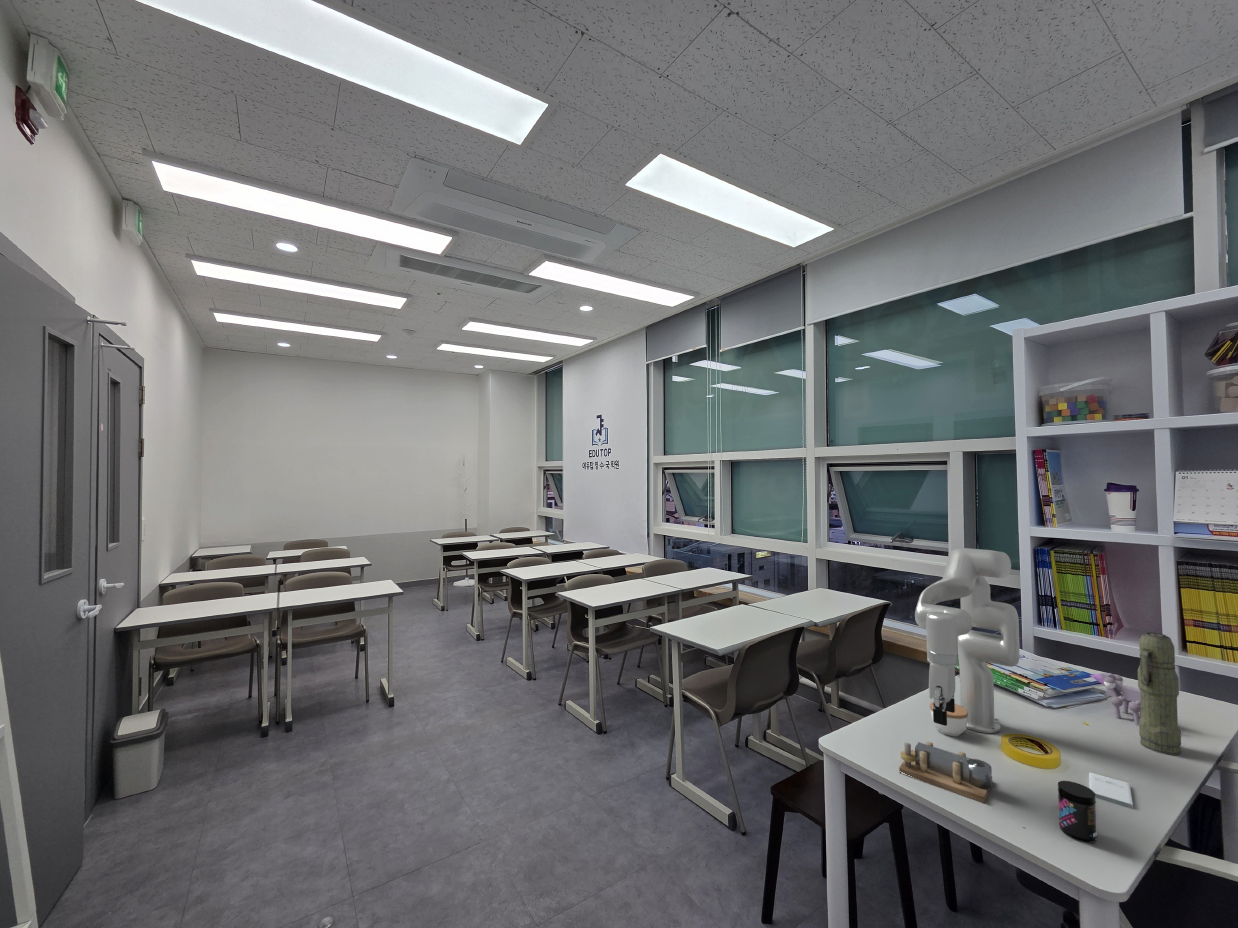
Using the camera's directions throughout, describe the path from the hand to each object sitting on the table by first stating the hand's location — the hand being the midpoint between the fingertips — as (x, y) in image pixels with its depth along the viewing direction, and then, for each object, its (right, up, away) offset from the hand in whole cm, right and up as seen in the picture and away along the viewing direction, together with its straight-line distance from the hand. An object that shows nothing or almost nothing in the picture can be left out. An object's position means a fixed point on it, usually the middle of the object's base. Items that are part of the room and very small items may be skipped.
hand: (944, 717), depth 145 cm
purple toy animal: (+86, -17, +35) cm, 94 cm away
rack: (0, -17, -1) cm, 17 cm away
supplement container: (+16, -16, -24) cm, 33 cm away
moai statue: (+76, -17, +14) cm, 80 cm away
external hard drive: (+40, -17, -8) cm, 44 cm away
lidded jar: (+18, -17, +25) cm, 35 cm away
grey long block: (+1, -15, -2) cm, 15 cm away
